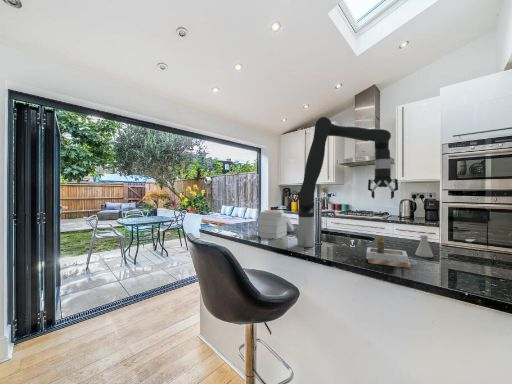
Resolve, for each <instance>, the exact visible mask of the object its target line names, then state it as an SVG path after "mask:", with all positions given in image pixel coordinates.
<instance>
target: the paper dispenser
mask: <svg viewBox="0 0 512 384" xmlns="http://www.w3.org/2000/svg"><path fill="white" fill-rule="evenodd" d="M284 211H285V210H284V209H263V210H261V211H259V215H258V216H257V217H258V219H257V220H258V223H257V224H258V226H257V227H258V229H257V230H258V234H257V235H258V236H260V237H259V238H264V237H267V238H266V239H272V238H273V239H274V240H278V238H279V239H281V238H284V237H286V235H288V231H289V232H293V231H294V230H295V226H294V225H293V223H292V222H291V219H290V218H289V217H288V216H287V214H285V212H284ZM283 236H284V237H283ZM273 239H272V240H273Z"/></svg>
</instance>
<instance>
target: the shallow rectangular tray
mask: <svg viewBox="0 0 512 384" xmlns="http://www.w3.org/2000/svg"><path fill="white" fill-rule="evenodd" d="M366 248H367V249H366V253H365V254H366V257H365V258H366V259H367V260H368V259H374V260H382V261H391V262H400V263H408V260H409V256H408V254H407V251H406V250H400V249H399V250H398V249H389V248H384V253H378V247H368V246H367V247H366Z"/></svg>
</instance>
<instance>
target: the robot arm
mask: <svg viewBox="0 0 512 384" xmlns="http://www.w3.org/2000/svg"><path fill="white" fill-rule="evenodd" d="M313 131H314V132H313V138H312V142H311V145H310V147H309V148H310V149H309V152H308V154H307V159H306V163H305V168H304V174H303V175H304V176H303V182H302V184H301V187H300V191H299V193H298V195H297V199H298V215H297V216H298V222H297V223H298V229H297V230H296V231H297V246H298V247H303V248H312V247H315V243H316V241H315V193H316V191H315V189H316V185H317V181H318V179H319V177H320V174H321V171H322V167H323V165H324V161H325V155H326V154H325V152H326V142H327V139H328V137H340V138H347V139H351V140H352V139H353V140H356V141H357V140H358V141H362V142H368V141H371V142H374V150H375V153H374V157H375V158H374V161H375V162H374V179H370V178H369V179H368V182H367V190H368V191H370V192H371V198H372V199H375V191H376V189H377V188H386V187H387V188H388V189H390V199H392V200H393V199H394V197H395V191H399V181H398V179H397V178H393V179H392V178H391V176H392V175H391V171H392V170H391V169H392V166H391V164H392V162H391V151H390V147H389V145H390V144H389V143H390V140H391V138H392V133H391V132H390V131H389V130H387V129H383V128H370V127H366V126H365V127H364V126H358V125H339V124H335V123H333V122H332V121H331V119H330V118H329V117H327V116H321V117H319V118H318V119H317V120H316V121H315V124H314V130H313ZM373 183H374V184H375V185H374V186H373V187H372V185H371V184H373ZM391 183H393V184H394V188H393V187H392V186H391V185H390V184H391ZM371 187H372V188H371Z"/></svg>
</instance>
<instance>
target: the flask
mask: <svg viewBox="0 0 512 384" xmlns="http://www.w3.org/2000/svg"><path fill="white" fill-rule="evenodd" d="M419 237H420V242H419V245H417V246H418V247H417V249H416V251H415V253H414V255H416V256H418V257H421V258H434V253H433V252H432V249H431V247H430V244H429V241H428V238H429V236H428V235H426V234H425V235H423V234H421V235H419Z"/></svg>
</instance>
